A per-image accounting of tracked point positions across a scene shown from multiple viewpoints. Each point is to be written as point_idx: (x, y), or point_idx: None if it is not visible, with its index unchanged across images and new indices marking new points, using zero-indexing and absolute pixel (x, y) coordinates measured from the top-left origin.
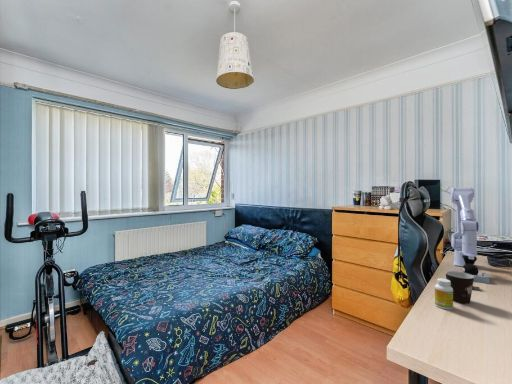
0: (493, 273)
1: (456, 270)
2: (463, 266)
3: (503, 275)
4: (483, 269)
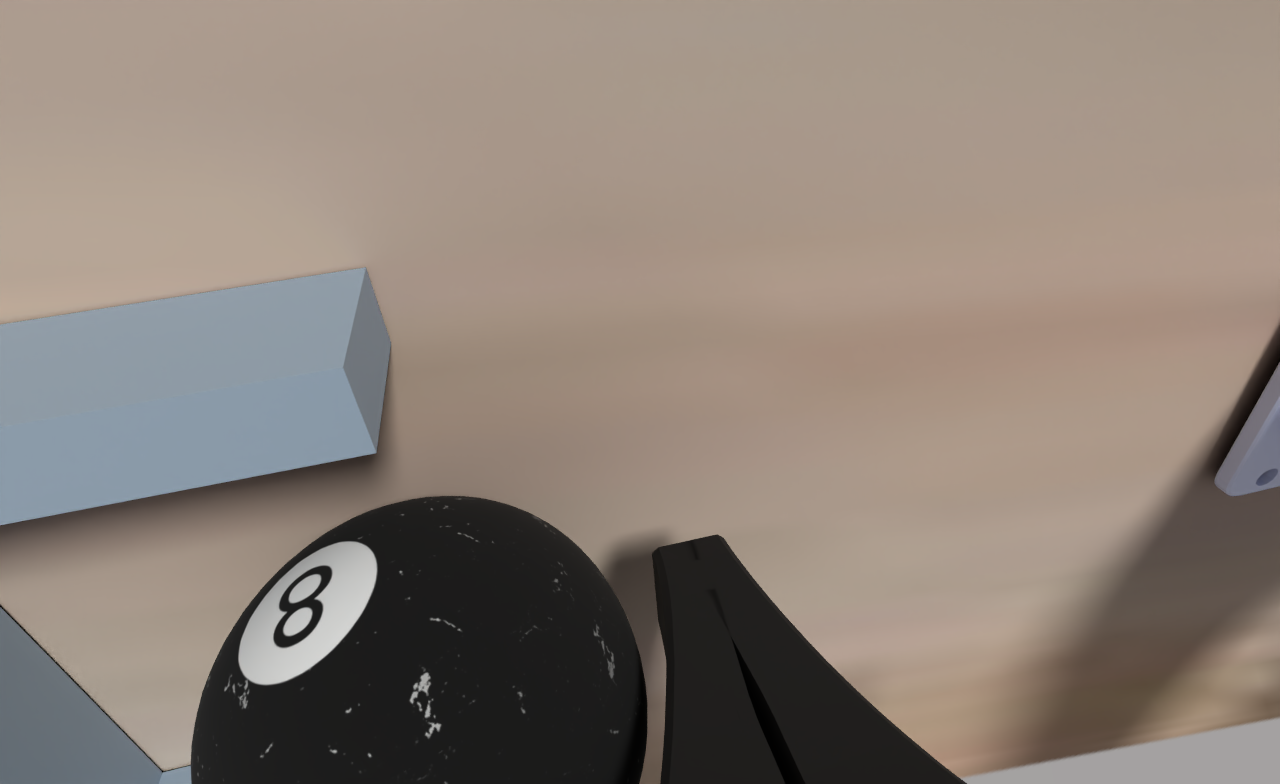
0: (940, 704)
1: (41, 426)
2: (340, 708)
3: None
4: (1151, 594)
